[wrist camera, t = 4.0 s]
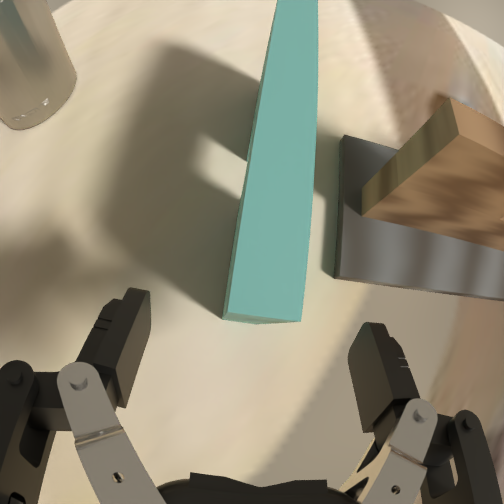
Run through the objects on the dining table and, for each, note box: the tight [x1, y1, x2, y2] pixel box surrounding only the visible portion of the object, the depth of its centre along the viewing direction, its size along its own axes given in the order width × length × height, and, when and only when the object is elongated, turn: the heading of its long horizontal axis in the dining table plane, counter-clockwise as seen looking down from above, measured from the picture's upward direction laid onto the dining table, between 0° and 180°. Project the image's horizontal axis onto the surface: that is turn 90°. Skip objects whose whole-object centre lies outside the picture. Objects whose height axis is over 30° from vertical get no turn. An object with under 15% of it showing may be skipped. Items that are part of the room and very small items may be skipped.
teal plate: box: [222, 0, 318, 324], centre depth 18 cm, size 20×2×12 cm, turn 172°
